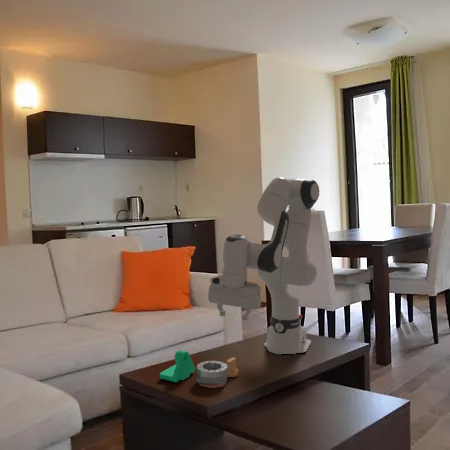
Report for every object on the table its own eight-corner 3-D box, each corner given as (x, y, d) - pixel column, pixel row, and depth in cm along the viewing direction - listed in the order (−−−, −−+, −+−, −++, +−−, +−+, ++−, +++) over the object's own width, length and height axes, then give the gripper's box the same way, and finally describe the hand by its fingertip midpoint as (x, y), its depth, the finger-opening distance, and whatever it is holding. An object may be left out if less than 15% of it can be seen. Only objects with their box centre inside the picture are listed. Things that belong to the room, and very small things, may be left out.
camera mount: (178, 369, 206) (177, 343, 204) (194, 373, 202) (194, 347, 201) (158, 380, 195) (158, 353, 194) (176, 385, 192) (175, 357, 190)
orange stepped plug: (228, 371, 204) (228, 356, 203) (240, 374, 201) (240, 358, 201) (221, 376, 200) (221, 360, 199) (233, 379, 197) (234, 363, 196)
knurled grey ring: (207, 374, 201) (207, 358, 200) (232, 380, 195) (232, 364, 195) (191, 384, 192) (191, 368, 191) (217, 391, 186) (217, 374, 186)
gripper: (264, 282, 194) (263, 320, 195) (215, 275, 204) (214, 311, 205) (256, 285, 188) (255, 324, 190) (206, 278, 198) (205, 315, 200)
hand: (233, 317), depth 198 cm, fingers open, 8 cm apart
